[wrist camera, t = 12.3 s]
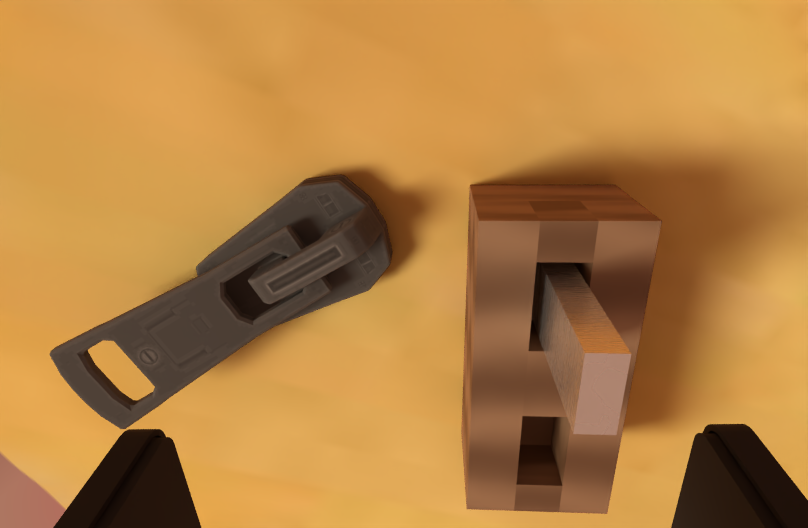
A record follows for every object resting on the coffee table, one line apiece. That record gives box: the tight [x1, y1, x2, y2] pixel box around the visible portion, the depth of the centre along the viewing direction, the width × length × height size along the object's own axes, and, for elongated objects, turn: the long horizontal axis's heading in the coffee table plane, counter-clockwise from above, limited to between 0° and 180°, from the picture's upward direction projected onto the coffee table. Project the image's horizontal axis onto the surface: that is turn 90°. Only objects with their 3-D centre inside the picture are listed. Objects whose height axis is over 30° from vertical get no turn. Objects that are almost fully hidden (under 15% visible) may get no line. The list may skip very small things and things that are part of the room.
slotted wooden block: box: [462, 185, 662, 514], centre depth 37 cm, size 22×10×8 cm, turn 1°
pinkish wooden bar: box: [532, 262, 631, 435], centre depth 29 cm, size 4×2×12 cm, turn 1°
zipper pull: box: [50, 175, 392, 429], centre depth 37 cm, size 9×7×25 cm
